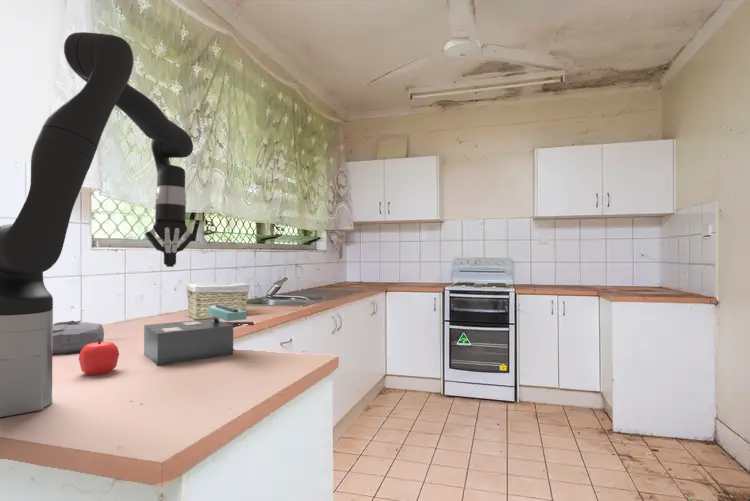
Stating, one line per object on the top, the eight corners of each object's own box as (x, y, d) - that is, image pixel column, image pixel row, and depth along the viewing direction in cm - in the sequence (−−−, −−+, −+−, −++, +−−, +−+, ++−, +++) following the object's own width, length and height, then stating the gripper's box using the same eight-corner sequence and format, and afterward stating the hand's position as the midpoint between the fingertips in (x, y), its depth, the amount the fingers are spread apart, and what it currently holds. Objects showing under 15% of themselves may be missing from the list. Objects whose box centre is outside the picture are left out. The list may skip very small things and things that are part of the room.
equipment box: (233, 354, 119) (233, 317, 119) (157, 365, 107) (157, 324, 107) (213, 345, 131) (213, 311, 131) (144, 354, 119) (144, 316, 119)
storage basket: (239, 312, 204) (239, 281, 204) (250, 316, 191) (250, 283, 191) (184, 316, 190) (185, 283, 190) (193, 321, 177) (193, 285, 177)
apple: (100, 378, 96) (100, 342, 96) (69, 376, 97) (69, 341, 98) (127, 369, 104) (127, 335, 104) (98, 367, 105) (98, 334, 105)
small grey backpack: (106, 342, 136) (26, 348, 126) (106, 315, 136) (26, 320, 126) (101, 352, 122) (11, 360, 113) (101, 322, 122) (11, 328, 113)
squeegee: (202, 332, 154) (202, 325, 154) (216, 325, 169) (216, 318, 169) (243, 333, 155) (243, 325, 155) (253, 326, 170) (253, 319, 170)
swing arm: (205, 313, 125) (205, 304, 125) (222, 311, 128) (222, 303, 128) (227, 321, 111) (227, 311, 111) (246, 319, 114) (246, 309, 114)
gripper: (192, 207, 126) (191, 266, 126) (141, 203, 118) (140, 266, 117) (199, 204, 120) (198, 267, 120) (147, 200, 112) (145, 267, 111)
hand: (169, 266), depth 119 cm, fingers closed
